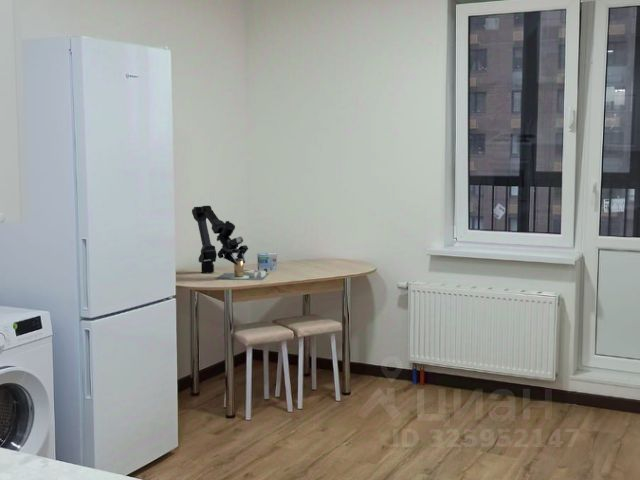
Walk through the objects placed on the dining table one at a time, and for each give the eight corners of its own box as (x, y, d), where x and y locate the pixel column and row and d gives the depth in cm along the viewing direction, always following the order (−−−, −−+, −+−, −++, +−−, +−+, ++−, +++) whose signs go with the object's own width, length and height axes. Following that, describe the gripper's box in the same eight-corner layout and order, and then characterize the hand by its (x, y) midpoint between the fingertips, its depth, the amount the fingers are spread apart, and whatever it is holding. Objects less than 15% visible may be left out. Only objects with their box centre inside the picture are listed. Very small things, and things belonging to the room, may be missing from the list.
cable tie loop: (243, 275, 430) (243, 270, 430) (254, 274, 436) (254, 269, 436) (257, 277, 423) (257, 272, 423) (268, 275, 430) (268, 270, 429)
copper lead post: (233, 277, 420) (233, 259, 419) (235, 276, 425) (235, 258, 424) (242, 277, 419) (242, 259, 418) (244, 276, 424) (244, 258, 423)
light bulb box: (259, 273, 444) (259, 254, 443) (257, 271, 451) (257, 253, 449) (277, 272, 447) (277, 253, 446) (275, 270, 453) (275, 252, 452)
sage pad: (227, 279, 417) (227, 278, 417) (231, 276, 428) (231, 275, 428) (247, 279, 416) (247, 278, 416) (250, 276, 427) (250, 275, 427)
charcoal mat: (215, 280, 417) (215, 279, 417) (224, 273, 441) (224, 272, 441) (262, 281, 415) (262, 280, 415) (269, 274, 439) (269, 273, 439)
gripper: (220, 233, 415) (235, 255, 409) (245, 230, 429) (260, 252, 423) (211, 246, 421) (225, 268, 415) (236, 243, 435) (250, 265, 429)
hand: (240, 263), depth 420 cm, fingers open, 6 cm apart
